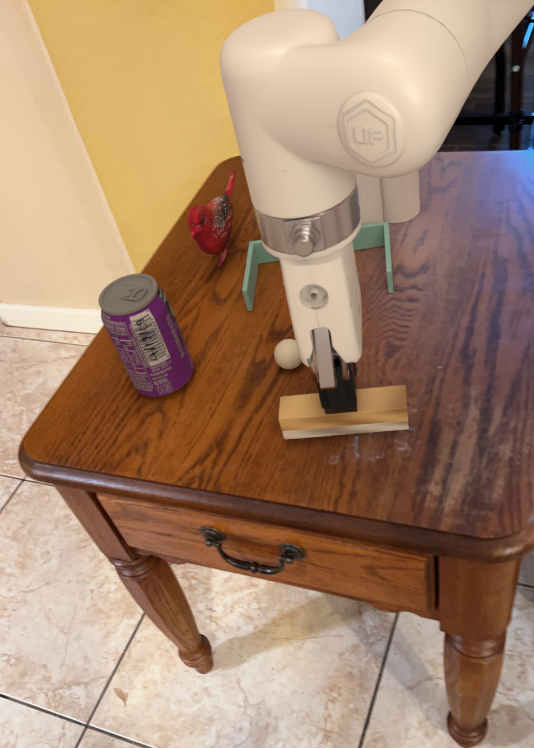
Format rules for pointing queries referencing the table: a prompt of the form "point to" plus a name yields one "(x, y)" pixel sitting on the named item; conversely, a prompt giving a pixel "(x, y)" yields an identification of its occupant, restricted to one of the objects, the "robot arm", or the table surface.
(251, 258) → the teal open frame
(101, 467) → the table surface
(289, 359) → the crumb
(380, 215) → the vase
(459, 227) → the table surface
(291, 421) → the brush
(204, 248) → the decorative bird figurine
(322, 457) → the table surface
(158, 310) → the beverage can
